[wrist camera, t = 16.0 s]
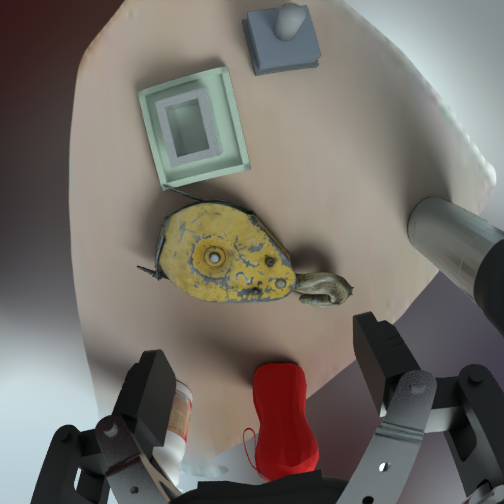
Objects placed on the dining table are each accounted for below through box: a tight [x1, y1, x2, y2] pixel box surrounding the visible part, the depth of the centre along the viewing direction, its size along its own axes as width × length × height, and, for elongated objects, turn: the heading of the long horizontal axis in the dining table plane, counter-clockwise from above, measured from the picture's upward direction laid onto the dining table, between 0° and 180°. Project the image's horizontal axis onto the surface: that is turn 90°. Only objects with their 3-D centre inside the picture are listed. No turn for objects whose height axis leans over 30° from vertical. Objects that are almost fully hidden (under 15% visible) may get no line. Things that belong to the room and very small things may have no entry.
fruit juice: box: [153, 381, 193, 486], centre depth 42 cm, size 9×9×28 cm
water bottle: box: [243, 363, 319, 482], centre depth 41 cm, size 9×11×25 cm
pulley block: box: [137, 186, 354, 308], centre depth 41 cm, size 14×6×30 cm
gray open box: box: [155, 88, 224, 168], centre depth 33 cm, size 6×8×5 cm
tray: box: [138, 66, 251, 191], centre depth 35 cm, size 12×14×2 cm
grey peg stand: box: [242, 3, 321, 76], centre depth 26 cm, size 8×8×12 cm
